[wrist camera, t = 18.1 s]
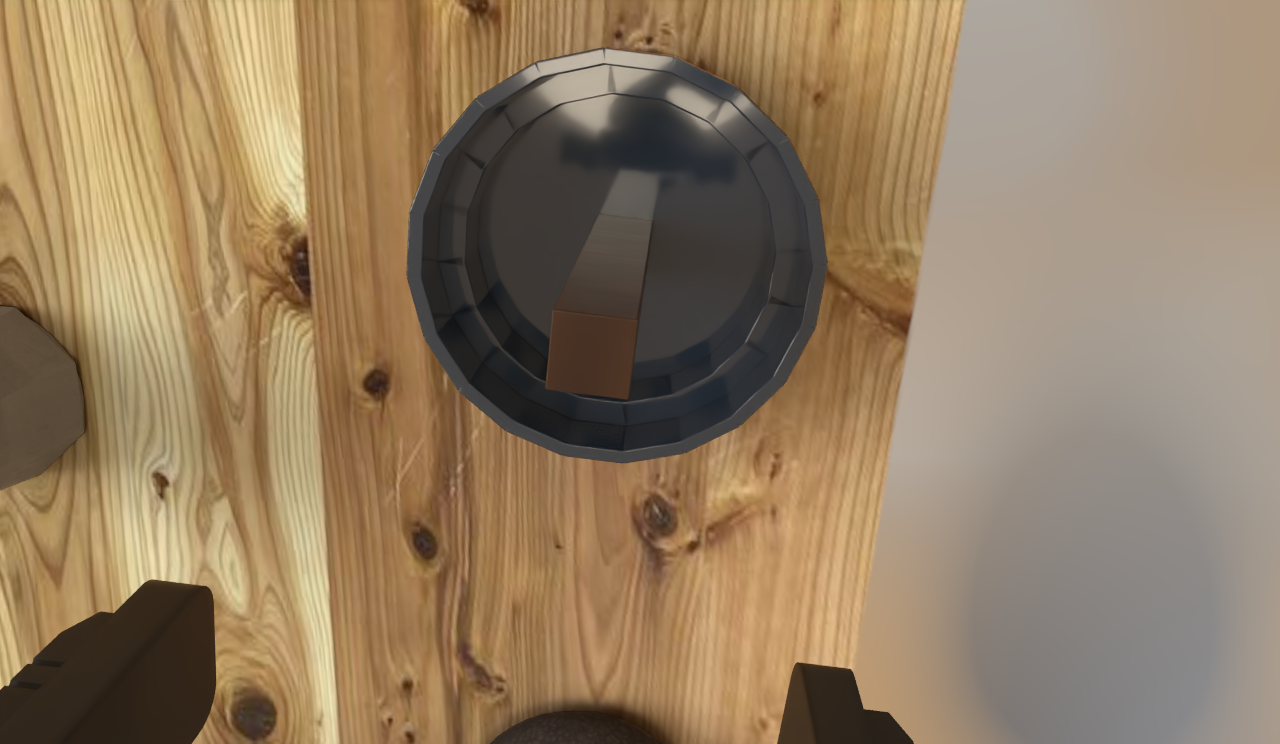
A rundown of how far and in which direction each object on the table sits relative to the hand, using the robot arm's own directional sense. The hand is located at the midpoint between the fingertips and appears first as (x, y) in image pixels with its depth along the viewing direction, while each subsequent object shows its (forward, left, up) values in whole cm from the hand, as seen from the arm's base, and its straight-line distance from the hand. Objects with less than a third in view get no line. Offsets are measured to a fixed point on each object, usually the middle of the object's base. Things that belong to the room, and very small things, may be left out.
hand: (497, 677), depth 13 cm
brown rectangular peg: (0, 0, -30) cm, 30 cm away
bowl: (0, 0, -31) cm, 31 cm away
